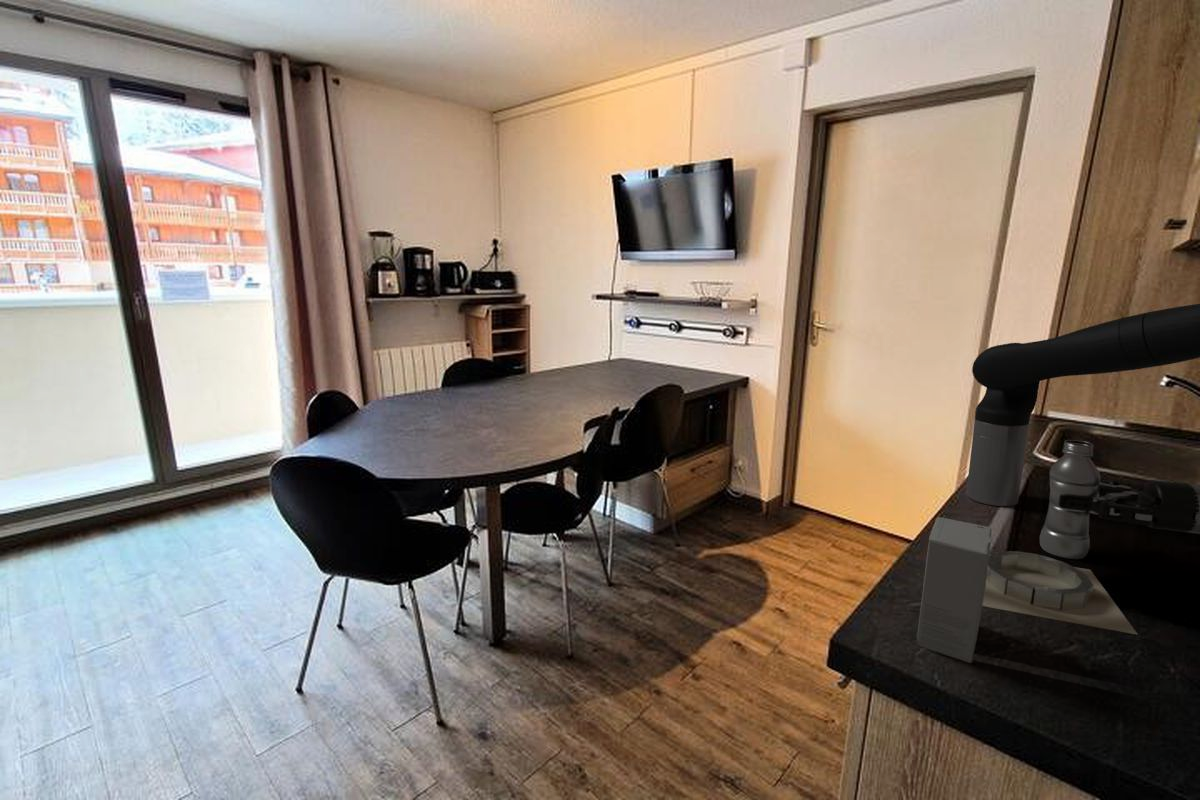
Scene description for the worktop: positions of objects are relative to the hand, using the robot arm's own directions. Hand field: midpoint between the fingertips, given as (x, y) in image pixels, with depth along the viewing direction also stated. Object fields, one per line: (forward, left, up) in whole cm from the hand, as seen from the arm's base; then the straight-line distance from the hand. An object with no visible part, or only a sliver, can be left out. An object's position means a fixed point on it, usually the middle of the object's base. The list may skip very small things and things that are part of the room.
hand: (1054, 493), depth 93 cm
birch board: (+15, -5, -11) cm, 19 cm away
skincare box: (+33, -18, -11) cm, 39 cm away
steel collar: (+15, -5, -10) cm, 19 cm away
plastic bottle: (0, +2, -11) cm, 11 cm away
